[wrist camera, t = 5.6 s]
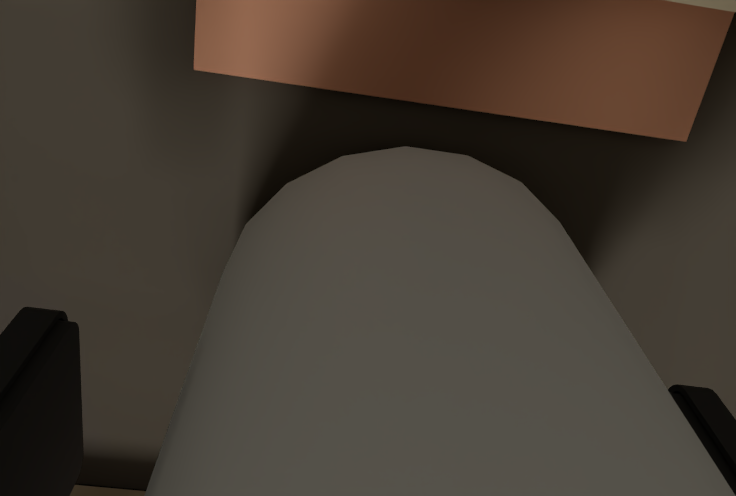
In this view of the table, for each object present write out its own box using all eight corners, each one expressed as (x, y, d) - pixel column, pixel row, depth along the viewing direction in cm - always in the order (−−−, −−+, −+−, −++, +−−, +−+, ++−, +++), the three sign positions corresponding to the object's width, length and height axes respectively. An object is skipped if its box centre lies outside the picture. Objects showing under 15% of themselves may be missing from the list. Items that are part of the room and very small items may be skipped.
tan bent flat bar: (1173, 34, 13) (1438, 76, 10) (819, 573, 20) (909, 701, 16) (-252, -213, 11) (-502, -260, 8) (-105, 491, 17) (-205, 621, 14)
